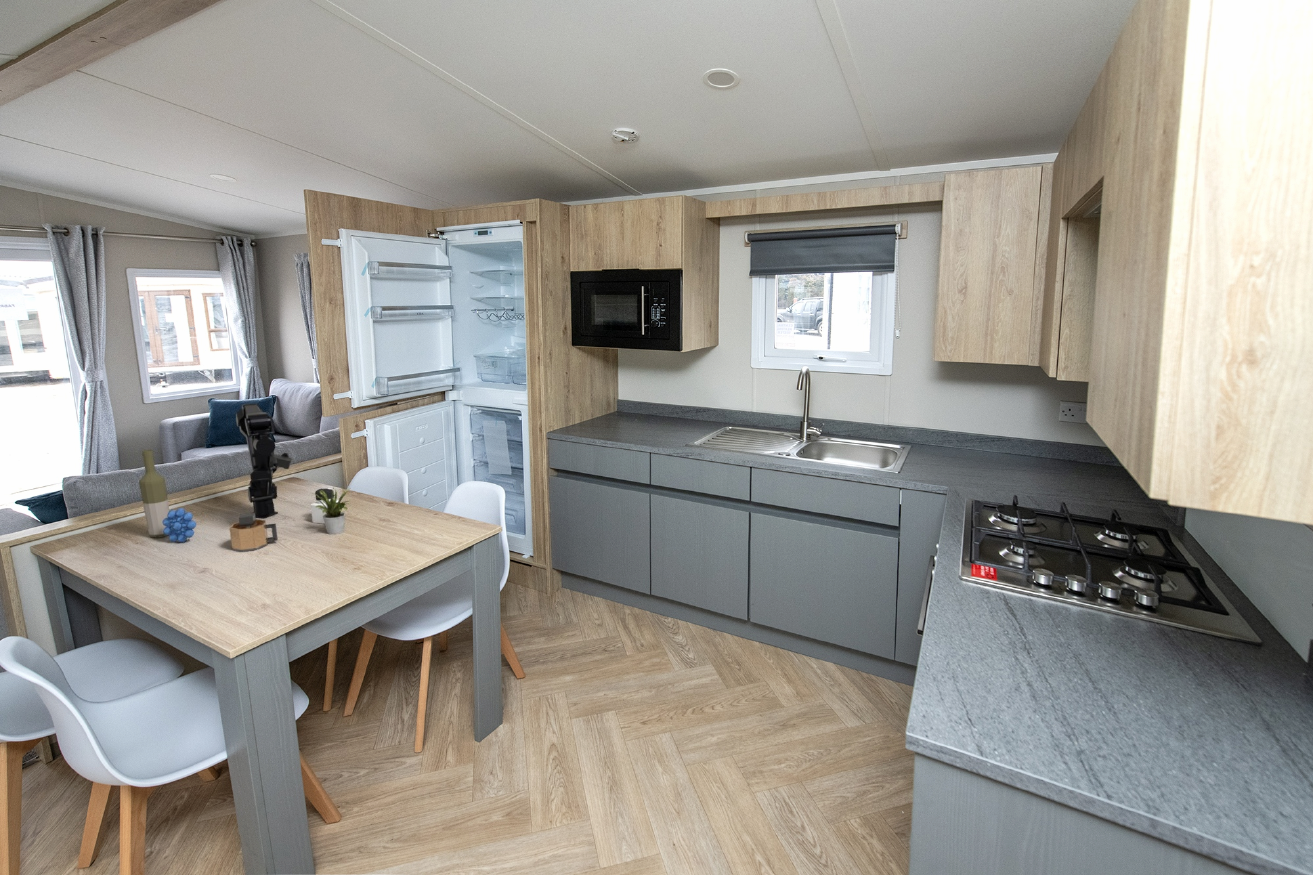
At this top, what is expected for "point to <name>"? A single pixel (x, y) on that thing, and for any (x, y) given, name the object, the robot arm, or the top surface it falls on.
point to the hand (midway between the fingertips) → (267, 492)
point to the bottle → (153, 496)
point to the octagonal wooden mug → (251, 536)
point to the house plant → (333, 513)
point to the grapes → (179, 525)
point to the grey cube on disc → (247, 519)
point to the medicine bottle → (318, 513)
